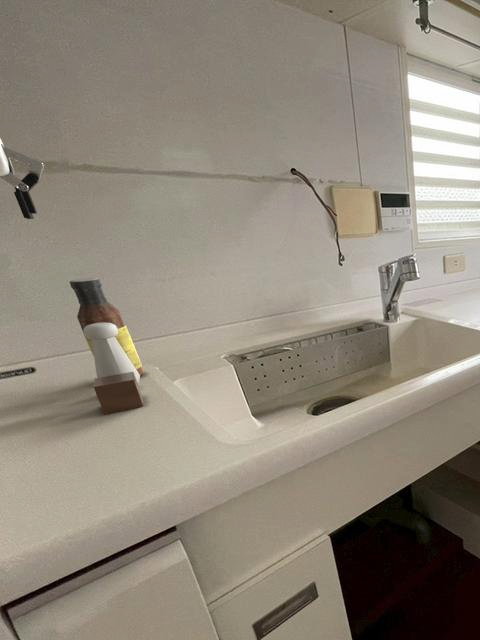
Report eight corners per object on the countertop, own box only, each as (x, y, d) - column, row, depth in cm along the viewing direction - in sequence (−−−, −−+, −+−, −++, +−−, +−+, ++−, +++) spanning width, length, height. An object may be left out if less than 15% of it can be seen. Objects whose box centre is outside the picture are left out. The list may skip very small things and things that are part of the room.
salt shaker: (142, 382, 79) (119, 318, 75) (145, 391, 76) (122, 324, 71) (102, 391, 76) (75, 323, 71) (103, 400, 72) (75, 330, 67)
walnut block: (105, 404, 70) (94, 378, 68) (142, 397, 73) (133, 371, 71) (104, 414, 67) (93, 387, 65) (143, 406, 70) (133, 379, 68)
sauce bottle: (139, 370, 86) (106, 275, 78) (149, 376, 82) (115, 278, 75) (98, 379, 81) (59, 279, 73) (107, 386, 77) (66, 282, 70)
